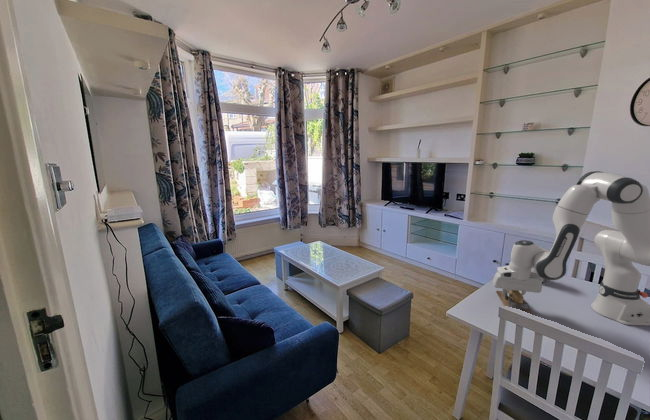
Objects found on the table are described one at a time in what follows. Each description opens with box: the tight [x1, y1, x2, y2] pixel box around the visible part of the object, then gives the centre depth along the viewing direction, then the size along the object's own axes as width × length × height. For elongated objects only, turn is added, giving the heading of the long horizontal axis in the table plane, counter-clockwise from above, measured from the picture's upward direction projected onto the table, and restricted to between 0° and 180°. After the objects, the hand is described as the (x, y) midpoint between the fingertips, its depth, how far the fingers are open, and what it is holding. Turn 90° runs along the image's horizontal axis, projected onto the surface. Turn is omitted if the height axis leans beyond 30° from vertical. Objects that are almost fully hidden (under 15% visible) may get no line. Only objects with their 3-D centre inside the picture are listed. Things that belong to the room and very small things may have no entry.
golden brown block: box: [509, 290, 525, 303], centre depth 135 cm, size 3×11×5 cm, turn 163°
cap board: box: [495, 289, 533, 314], centre depth 136 cm, size 10×20×4 cm, turn 163°
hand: (514, 297), depth 136 cm, fingers closed on golden brown block, 3 cm apart
